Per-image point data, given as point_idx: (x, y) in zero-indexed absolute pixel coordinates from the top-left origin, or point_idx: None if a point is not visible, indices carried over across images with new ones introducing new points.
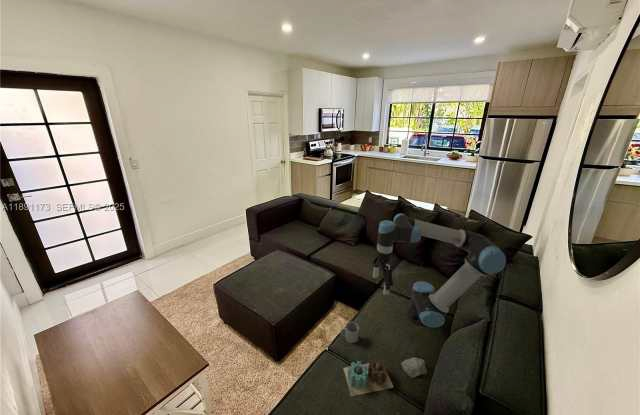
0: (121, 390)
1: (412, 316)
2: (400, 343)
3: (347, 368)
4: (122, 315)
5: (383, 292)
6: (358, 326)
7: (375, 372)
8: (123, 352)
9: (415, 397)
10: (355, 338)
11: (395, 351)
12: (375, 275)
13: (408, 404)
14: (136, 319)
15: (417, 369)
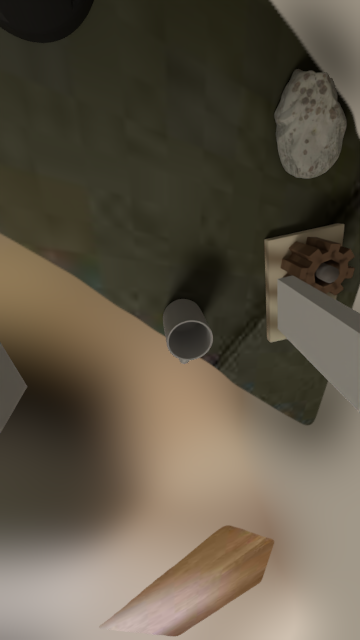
0: (249, 563)
1: (67, 2)
2: (202, 145)
3: (273, 333)
4: (139, 617)
5: (285, 335)
6: (188, 321)
7: (340, 284)
8: (200, 586)
9: None
10: (204, 317)
11: (233, 179)
12: (2, 392)
13: None
14: (145, 605)
15: (340, 123)
